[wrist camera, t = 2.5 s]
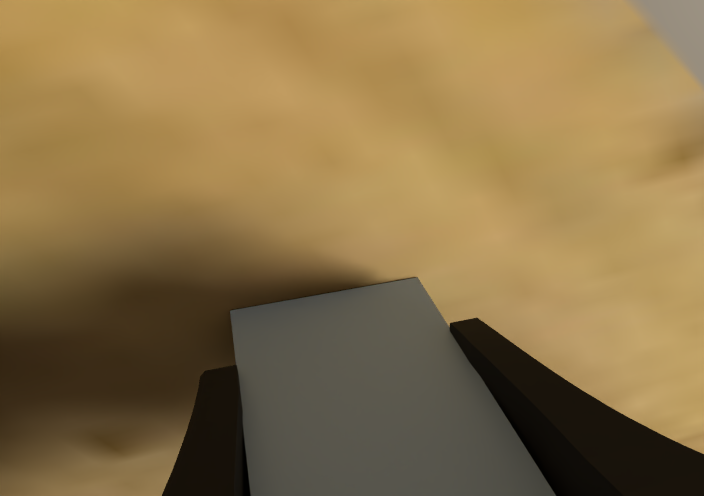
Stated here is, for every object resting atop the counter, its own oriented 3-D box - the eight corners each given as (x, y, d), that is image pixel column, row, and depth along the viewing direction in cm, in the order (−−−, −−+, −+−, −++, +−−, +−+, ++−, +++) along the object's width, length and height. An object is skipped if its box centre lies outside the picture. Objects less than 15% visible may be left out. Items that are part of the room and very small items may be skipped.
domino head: (416, 329, 14) (618, 695, 8) (240, 364, 13) (293, 809, 7) (417, 277, 13) (645, 636, 7) (230, 310, 13) (280, 757, 6)
